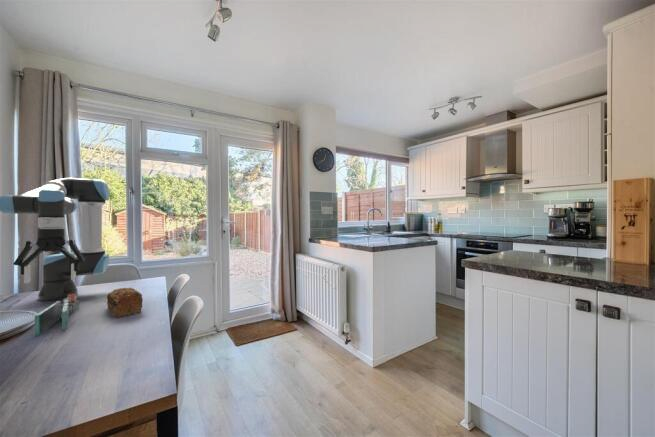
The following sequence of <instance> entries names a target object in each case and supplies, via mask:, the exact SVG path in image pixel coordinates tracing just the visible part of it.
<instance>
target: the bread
mask: <svg viewBox="0 0 655 437" xmlns="http://www.w3.org/2000/svg"><path fill="white" fill-rule="evenodd" d="M106 300H107V301H106V305H107V309H108V310H109V312H110V313H111V314H112V316H114V317H115V318H121V317H127V316H130V315H131V316H133V315H137V314H140V313H141V311H142V309H143V300H144V299H143V294H142V293H140V292H139V291H138V290H137V289H135V288H133V287H122V288H117V289H113V290H112V291H110V292H109V293H107V296H106Z"/></svg>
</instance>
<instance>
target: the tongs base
mask: <svg viewBox="0 0 655 437" xmlns="http://www.w3.org/2000/svg"><path fill="white" fill-rule="evenodd" d="M79 308H80V300H79V299H76V300H75V301H71V306H69V316H68V318H69V317H71V316H72V315H73V314H74V313H75V312H76V311H78V310H79ZM62 311H63V303H62V301H61V300H56V301H55V302H54V303H53V304H51V305H49V306H48V307H46V308H44V309H43V310H41V311H40V312H38V313H37V314H36V315H34V337H35V336H36V337H37V336H40V335H42V334H43V333H44V332H45V331H47V330H48V329H49V328H50V327H52V326H53V325H54V324H55V323H57V322H58V321H59V320H61V319H62Z"/></svg>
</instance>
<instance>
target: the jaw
mask: <svg viewBox="0 0 655 437" xmlns="http://www.w3.org/2000/svg"><path fill="white" fill-rule="evenodd" d="M62 300H63V302H62V304H63V311H62V321H61V329H62V330H67V328H68V323H69V322H68V321H69V317H70V316H69V306H71V298H63V299H62ZM68 316H69V317H68Z"/></svg>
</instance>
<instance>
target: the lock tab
mask: <svg viewBox="0 0 655 437" xmlns="http://www.w3.org/2000/svg"><path fill="white" fill-rule="evenodd" d="M67 298H71V301H75V300H77V295H76V294H72V295H68V297H67Z"/></svg>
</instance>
